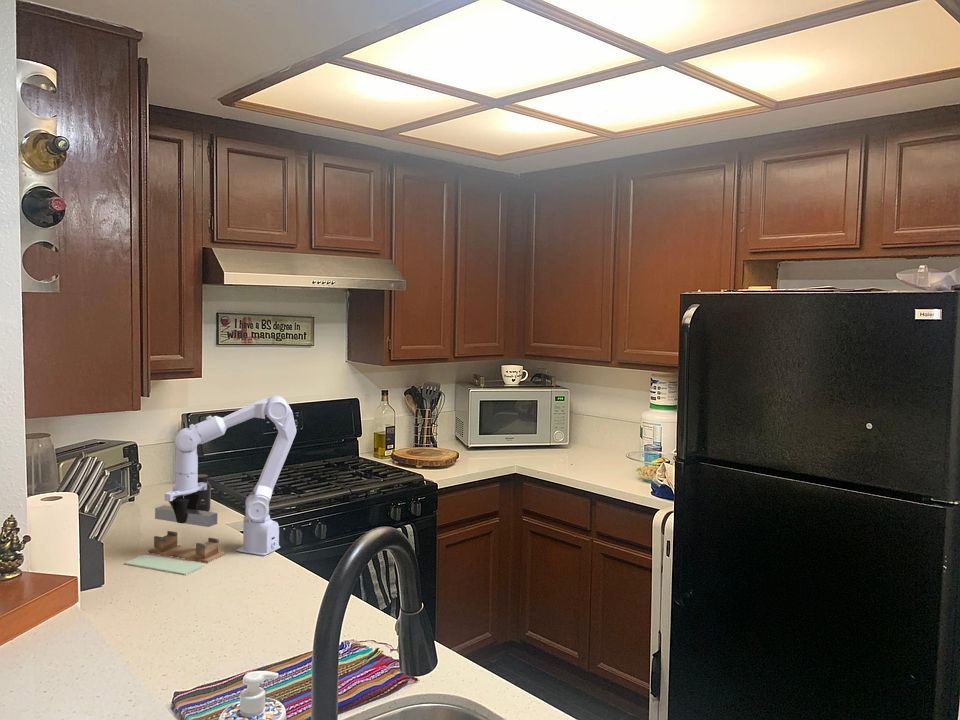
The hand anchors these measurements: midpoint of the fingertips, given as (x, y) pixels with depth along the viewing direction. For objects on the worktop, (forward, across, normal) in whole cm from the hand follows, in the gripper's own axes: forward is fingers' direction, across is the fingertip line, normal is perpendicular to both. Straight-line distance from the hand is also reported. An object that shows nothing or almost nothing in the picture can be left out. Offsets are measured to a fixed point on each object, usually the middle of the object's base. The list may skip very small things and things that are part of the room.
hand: (186, 520), depth 201 cm
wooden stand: (+9, 0, 0) cm, 9 cm away
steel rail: (0, 0, 0) cm, 0 cm away
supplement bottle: (+10, -36, -25) cm, 45 cm away
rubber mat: (+9, +9, +1) cm, 13 cm away
